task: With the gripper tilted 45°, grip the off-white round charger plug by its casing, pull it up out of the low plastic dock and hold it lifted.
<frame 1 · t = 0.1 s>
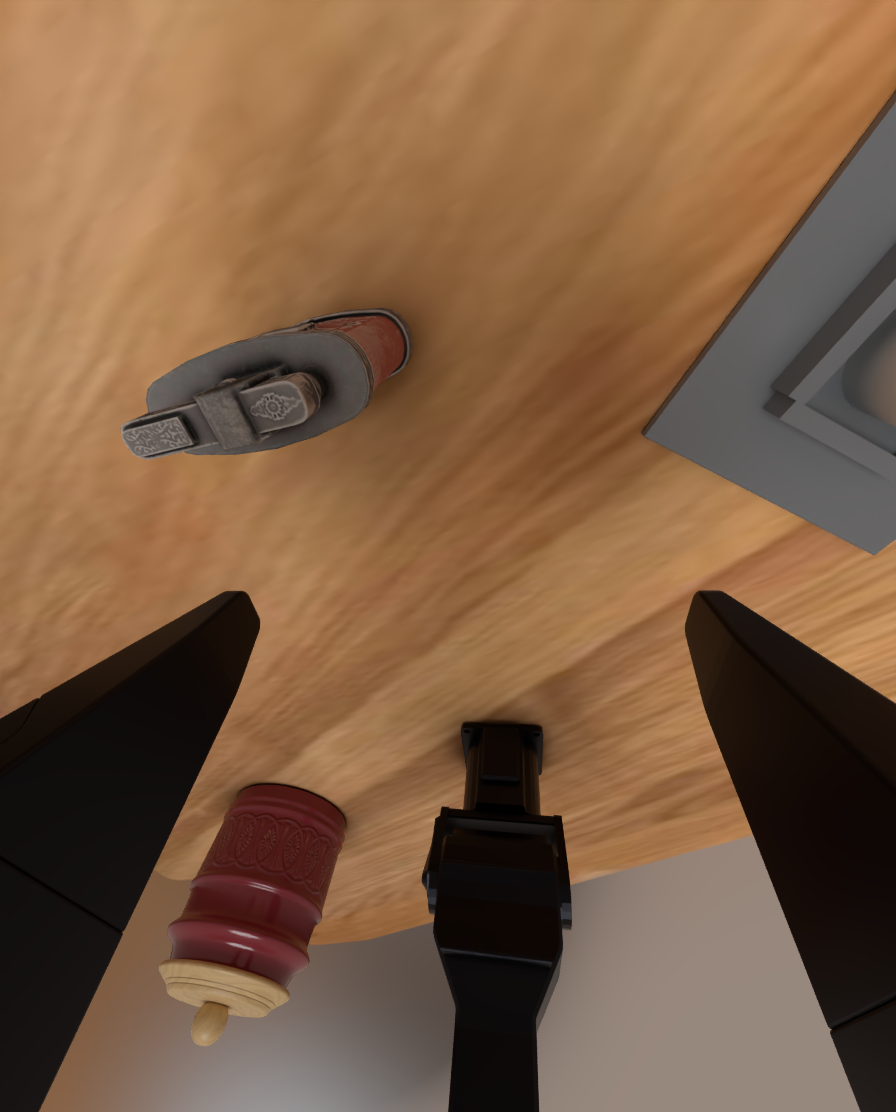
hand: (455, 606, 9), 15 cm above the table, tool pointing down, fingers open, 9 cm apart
canister: (293, 809, 49), on the table
lighter: (331, 355, 20), on the table
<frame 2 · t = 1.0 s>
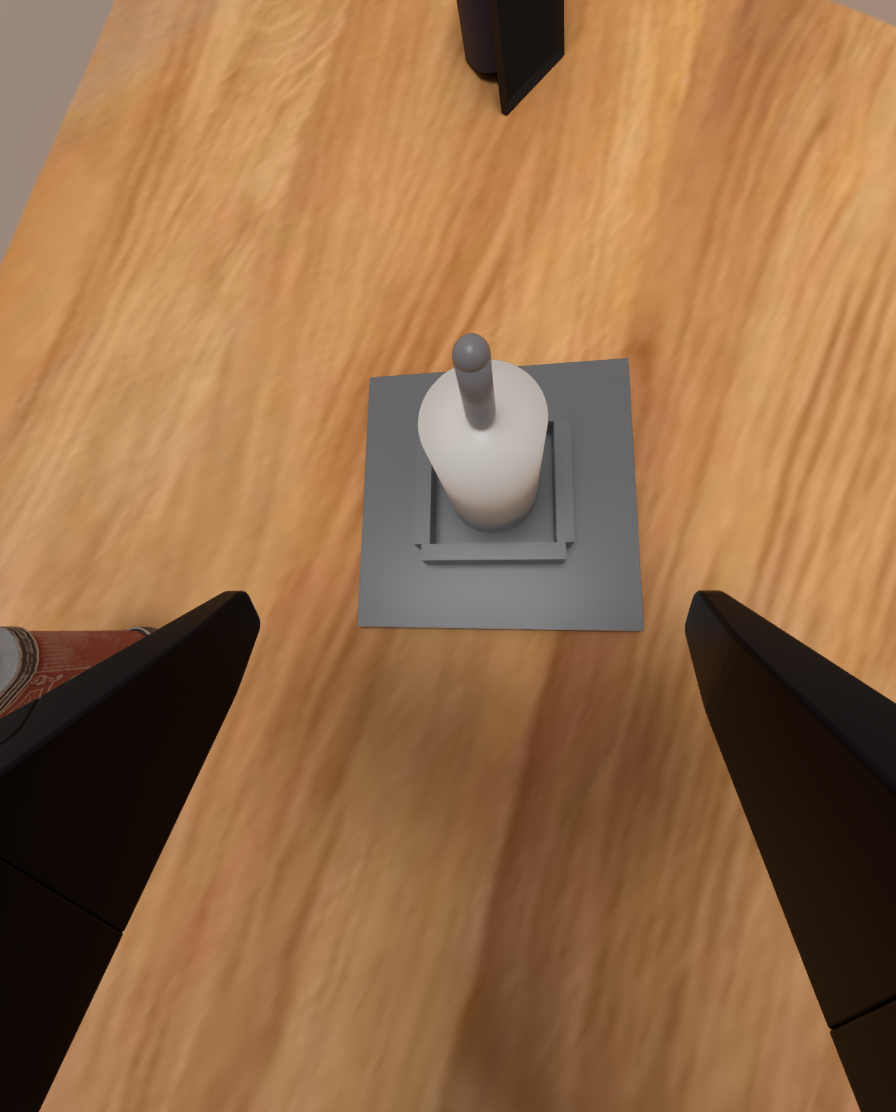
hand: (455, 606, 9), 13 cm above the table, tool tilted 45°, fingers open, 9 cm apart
dock: (493, 494, 23), on the table
plug: (493, 491, 22), resting on dock
lighter: (112, 680, 25), on the table
speaker: (500, 59, 28), on the table
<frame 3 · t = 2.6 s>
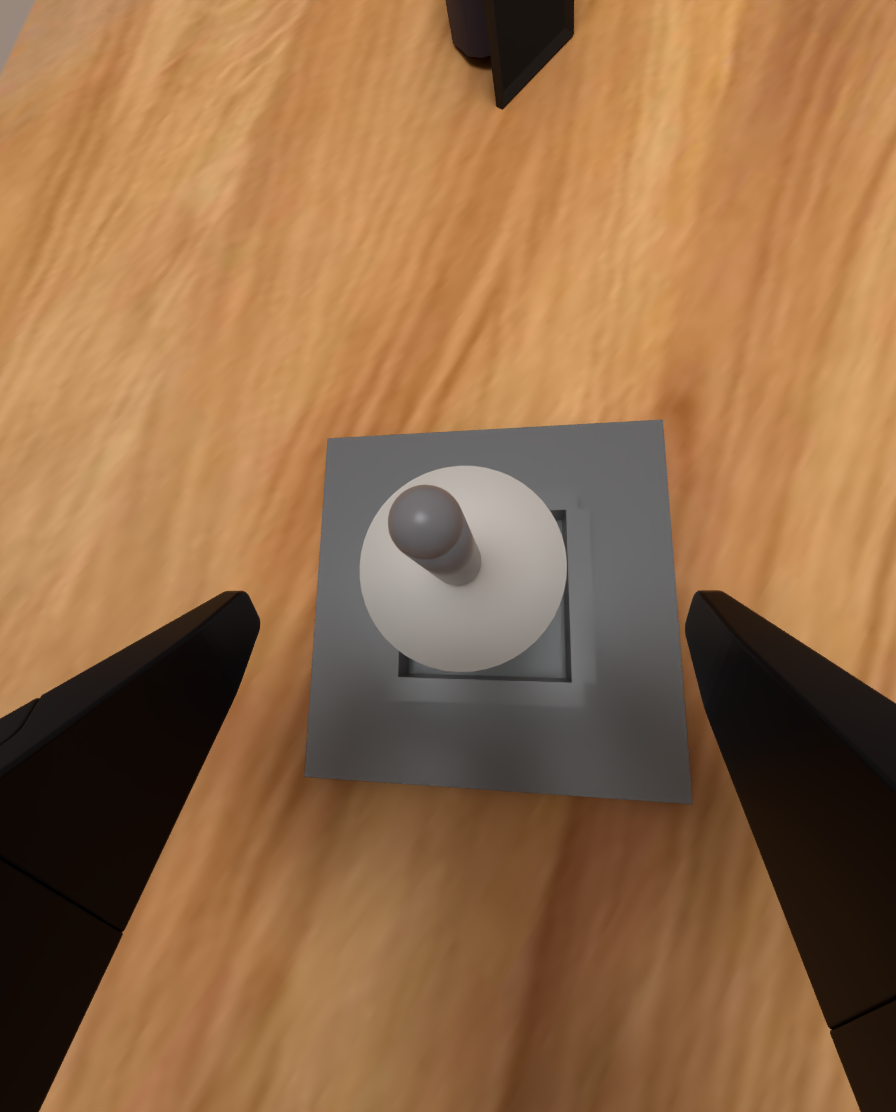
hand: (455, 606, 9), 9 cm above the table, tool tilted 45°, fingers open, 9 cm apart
dock: (486, 597, 17), on the table
plug: (485, 596, 17), resting on dock
speaker: (495, 41, 23), on the table
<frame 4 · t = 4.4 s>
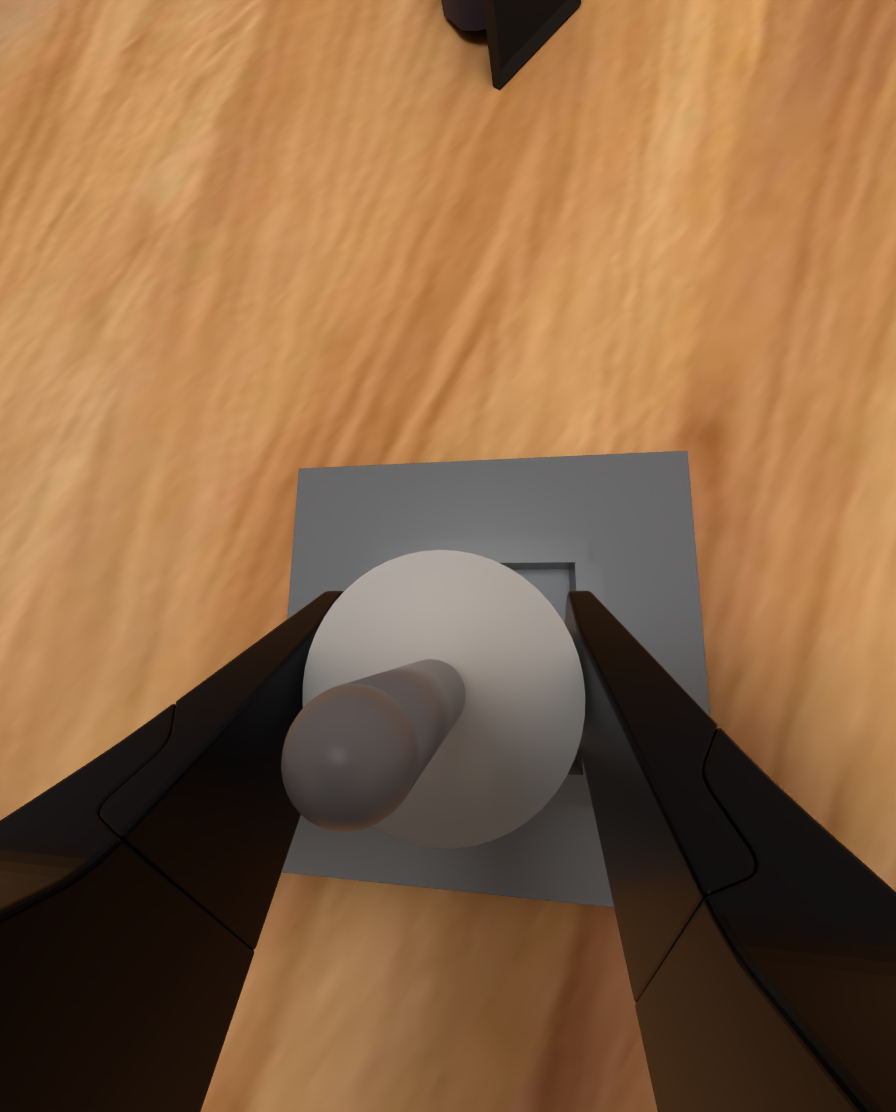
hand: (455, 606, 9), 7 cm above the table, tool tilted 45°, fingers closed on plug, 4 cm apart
dock: (480, 657, 15), on the table
plug: (479, 658, 14), point 1 cm above the table, touching dock, gripper
speaker: (492, 14, 20), on the table
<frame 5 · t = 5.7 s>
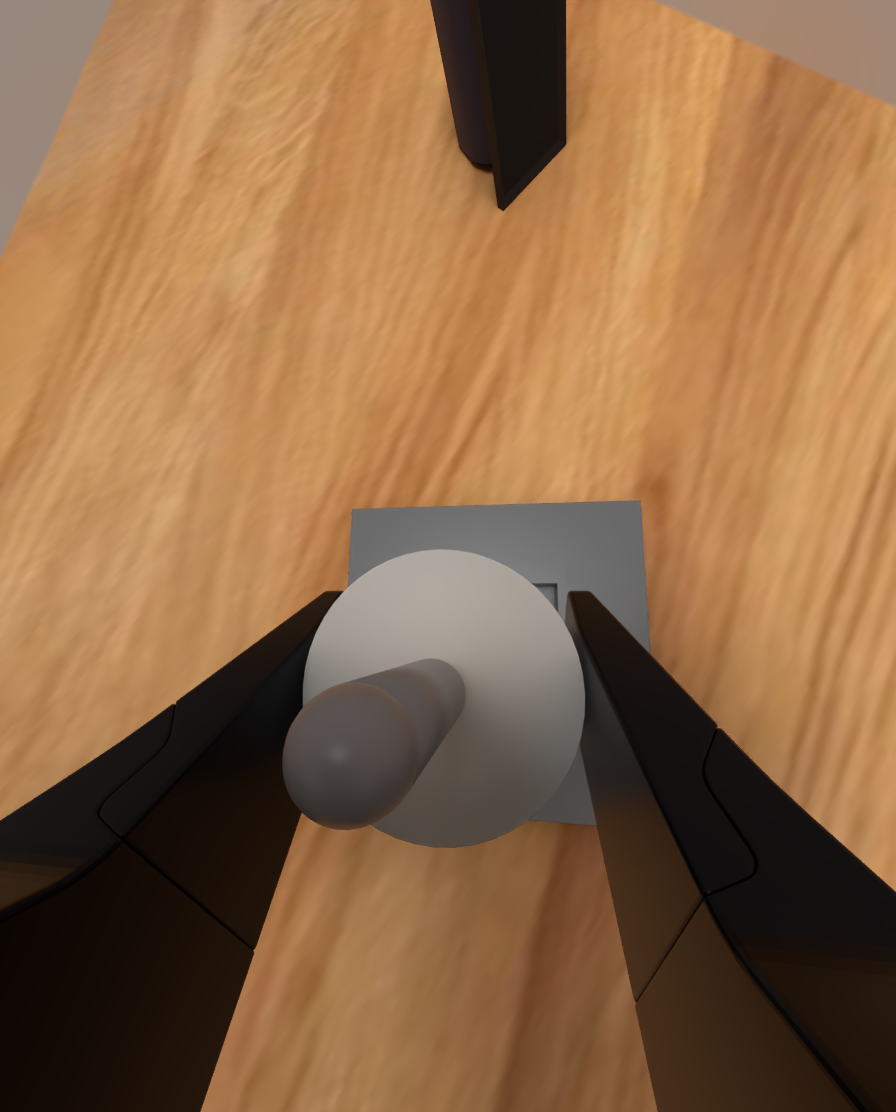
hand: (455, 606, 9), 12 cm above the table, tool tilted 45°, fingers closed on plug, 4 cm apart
dock: (490, 651, 20), on the table
plug: (479, 658, 14), point 6 cm above the table, touching gripper
speaker: (497, 145, 25), on the table
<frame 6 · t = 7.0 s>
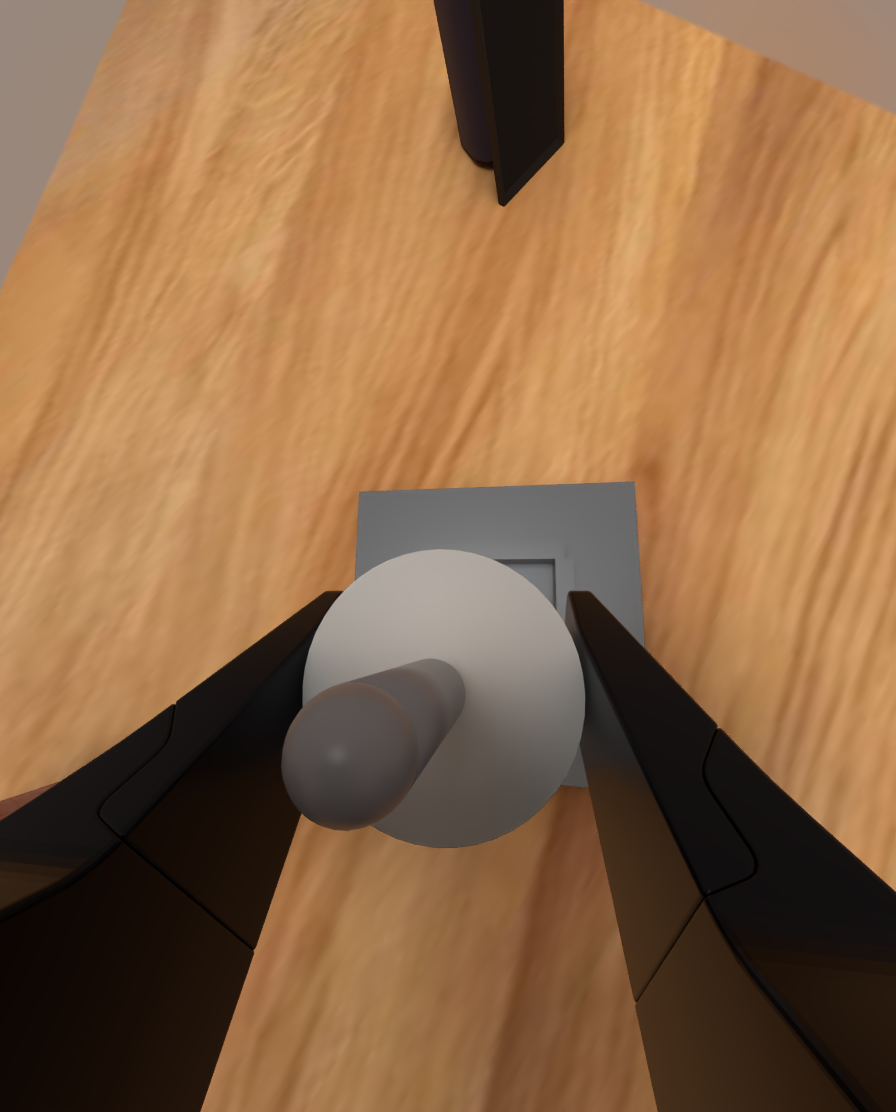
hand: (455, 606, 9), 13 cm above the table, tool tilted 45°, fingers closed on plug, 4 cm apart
dock: (491, 625, 21), on the table
plug: (479, 658, 14), point 7 cm above the table, touching gripper
lighter: (85, 814, 23), on the table
speaker: (497, 144, 26), on the table
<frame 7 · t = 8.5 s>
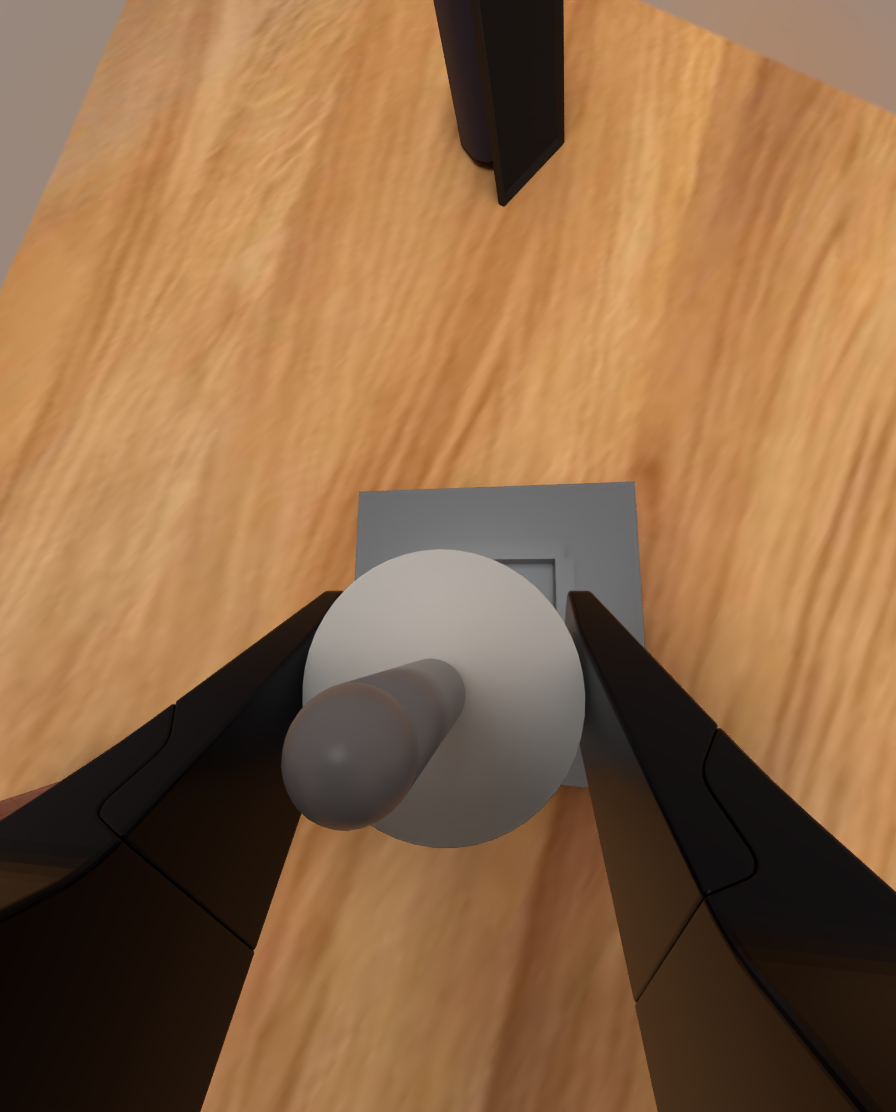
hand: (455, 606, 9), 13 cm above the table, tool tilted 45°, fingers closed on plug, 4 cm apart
dock: (491, 625, 21), on the table
plug: (479, 658, 14), point 7 cm above the table, touching gripper
lighter: (85, 814, 23), on the table
speaker: (497, 144, 26), on the table
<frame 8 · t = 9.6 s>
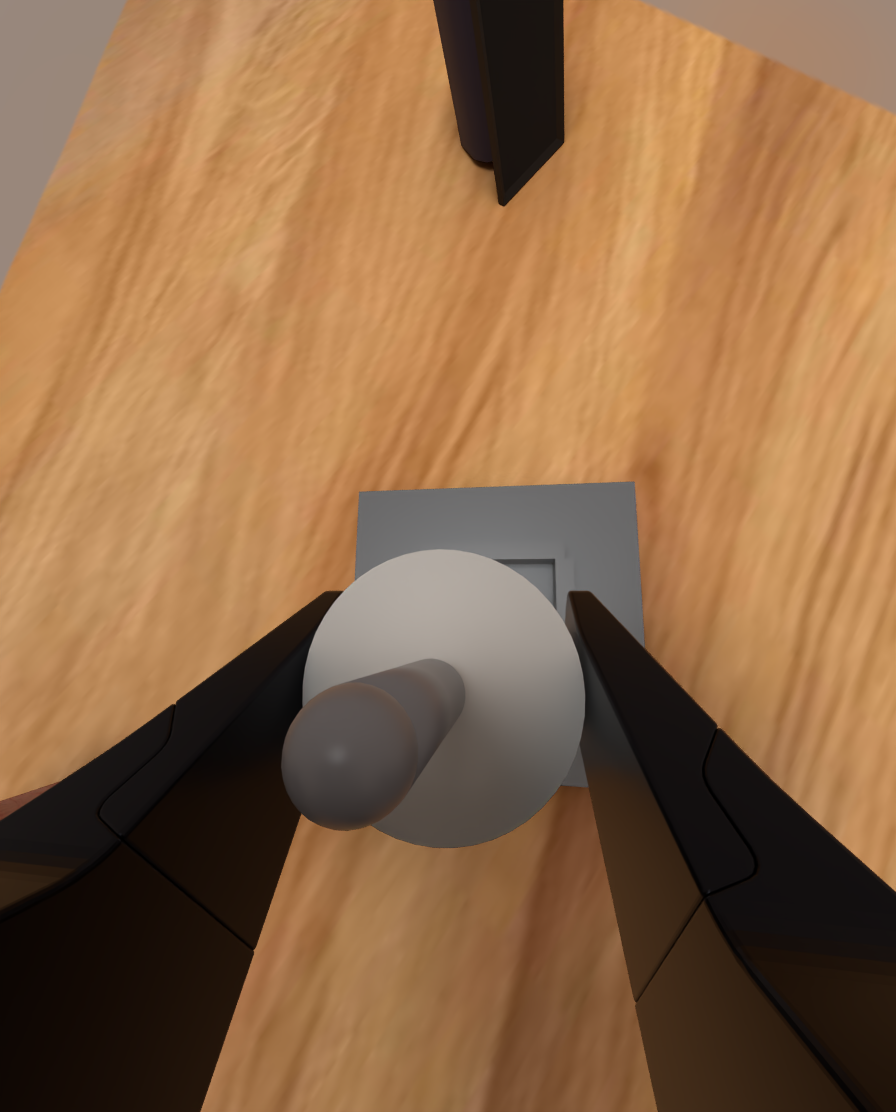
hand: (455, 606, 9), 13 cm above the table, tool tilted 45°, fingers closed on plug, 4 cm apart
dock: (491, 625, 21), on the table
plug: (479, 658, 14), point 7 cm above the table, touching gripper
lighter: (85, 814, 23), on the table
speaker: (497, 144, 26), on the table
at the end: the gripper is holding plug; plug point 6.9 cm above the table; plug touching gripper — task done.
